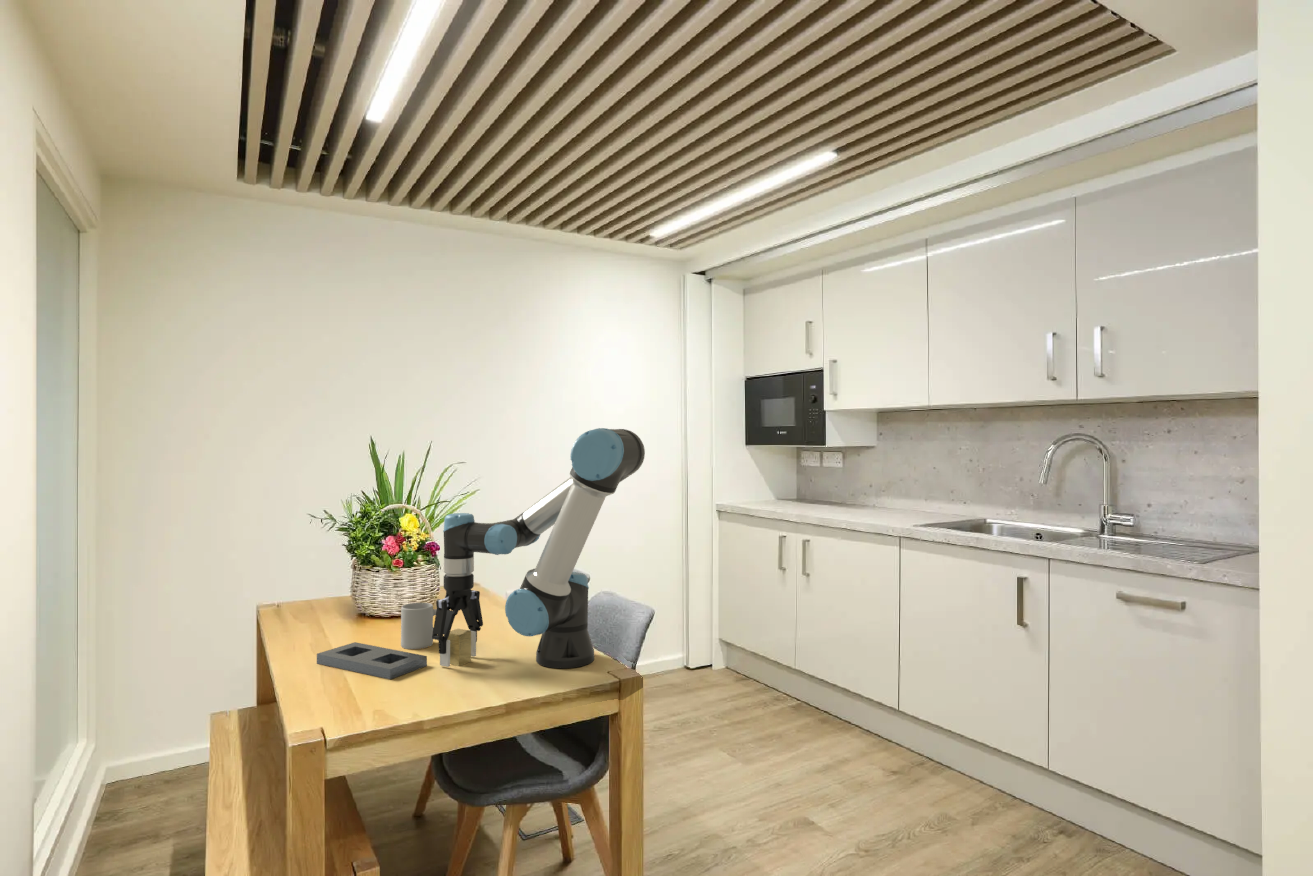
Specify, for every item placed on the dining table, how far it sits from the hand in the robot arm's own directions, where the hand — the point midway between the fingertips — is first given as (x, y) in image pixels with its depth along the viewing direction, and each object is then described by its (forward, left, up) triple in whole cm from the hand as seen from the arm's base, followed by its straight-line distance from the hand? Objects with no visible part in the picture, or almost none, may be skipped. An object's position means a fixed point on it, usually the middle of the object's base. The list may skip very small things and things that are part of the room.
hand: (458, 660), depth 194 cm
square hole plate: (+18, +12, 0) cm, 22 cm away
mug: (+20, -8, -1) cm, 22 cm away
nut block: (0, 0, -1) cm, 1 cm away
